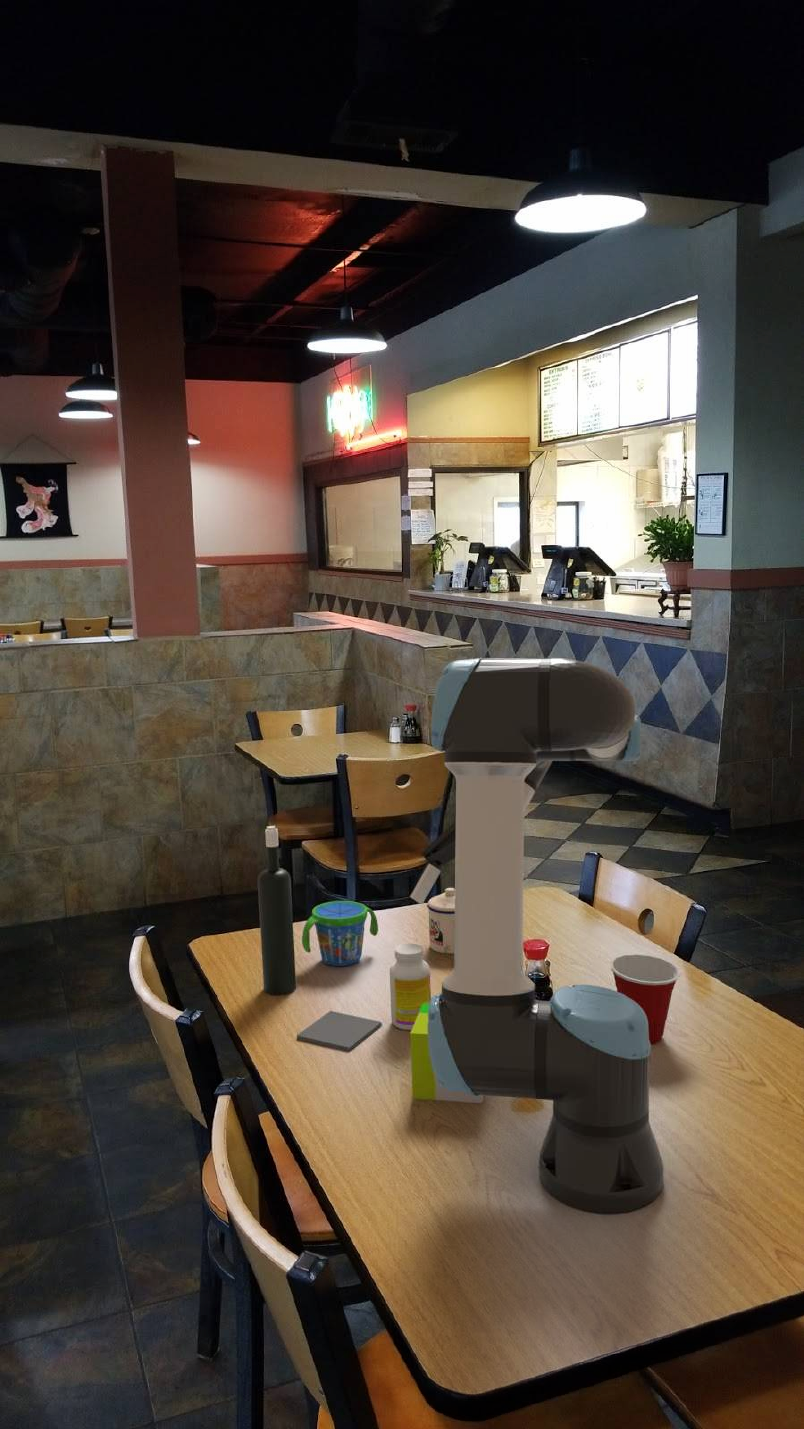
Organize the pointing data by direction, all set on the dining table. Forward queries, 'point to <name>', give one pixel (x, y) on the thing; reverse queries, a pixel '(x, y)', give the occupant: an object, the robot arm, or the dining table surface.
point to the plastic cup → (647, 987)
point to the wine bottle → (276, 922)
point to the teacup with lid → (442, 922)
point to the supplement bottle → (408, 985)
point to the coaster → (339, 1030)
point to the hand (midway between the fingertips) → (441, 914)
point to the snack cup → (339, 931)
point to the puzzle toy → (429, 1066)
